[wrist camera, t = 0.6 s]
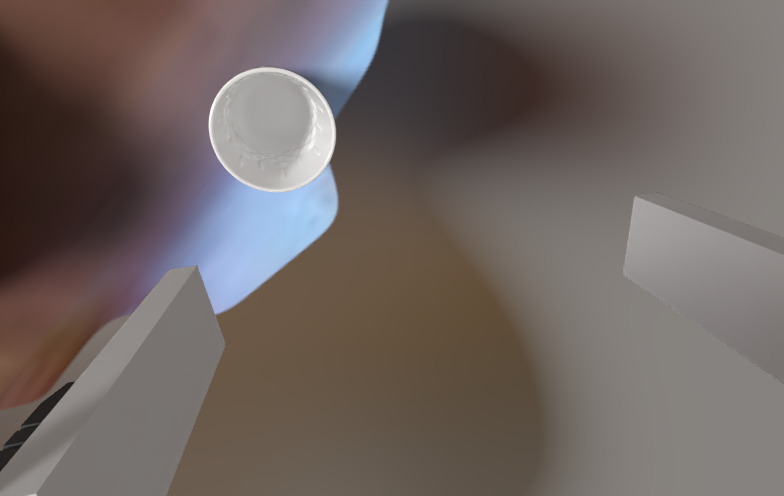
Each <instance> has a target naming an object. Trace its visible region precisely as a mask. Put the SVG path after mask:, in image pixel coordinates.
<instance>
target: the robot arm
mask: <svg viewBox="0 0 784 496" xmlns="http://www.w3.org/2000/svg"><path fill="white" fill-rule="evenodd" d="M634 197H635V198H634V203H633V210H632V217H631V223H630V230H629V237H628V243H627V250H626V257H625V264H624V271H623V275H624V276H626V277H627V278H629V279H630V280H632V281H633V282H635V283H636V284H638V285H639V286H641V287H642V288H643V289H645V290H646V291H648V292H649V293H651V294H652V295H654V296H655V297H657V298H658V299H660V300H661V301H662V302H664V303H666V304H667V305H668V306H670V307H671V308H673V309H674V310H676V311H677V312H679V313H680V314H682V315H683V316H685V317H686V318H687V319H689V320H691V321H692V322H694V323H695V324H696V325H698V326H699V327H701V328H702V329H704V330H705V331H707V332H708V333H709V334H711V335H712V336H714V337H715V338H717V339H718V340H720V341H721V342H723V343H724V344H726V345H727V346H729V347H730V348H732V349H733V350H735V351H736V352H737V353H739V354H740V355H742V356H743V357H745V358H746V359H748V360H749V361H751V362H752V363H754V364H755V365H757V366H758V367H759V368H761V369H762V370H764V371H765V372H767V373H768V374H770V375H771V376H773V377H774V378H775V379H777V380H778V381H780V382H781V383H783V384H784V237H781V236H779V235H776V234H773V233H770V232H768V231H765V230H762V229H759V228H756V227H753V226H751V225H748V224H745V223H742V222H739V221H737V220H734V219H731V218H728V217H725V216H723V215H720V214H717V213H714V212H712V211H708V210H706V209H703V208H700V207H698V206H695V205H692V204H689V203H686V202H683V201H681V200H678V199H675V198H672V197H669V196H666V195H664V194H661V193H658V192H656V193H650V194H644V195H637V196H634ZM224 347H225V342H224V339H223V336H222V334H221V331H220V328H219V325H218V322H217V319H216V317H215V314H214V311H213V308H212V305H211V303H210V300H209V297H208V294H207V291H206V289H205V286H204V283H203V280H202V277H201V275H200V272H199V269H198V266H197V265H196V266H190V267H184V268H177V269H171V270H168V272H167V273H166V274H165V275H164V276H163V278H162V279H161V280H160V281H159V282H158V284H157V285H156V286H155V287H154V288H153V290H152V291H151V292H150V293H149V294H148V296H147V297H146V298H145V299H144V300H143V302H142V303H141V304H140V305H139V306H138V308H137V309H136V310H135V311H134V312H133V314H132V315H131V316H130V317H129V318H128V320H127V321H126V322H125V323H124V324H123V326H122V327H121V328H120V329H119V330H118V332H117V333H116V334H115V335H114V337H113V338H112V339H111V340H110V341H109V342H108V344H107V345H106V346H105V347H104V348H103V349H102V351H101V352H100V353H99V354H98V356H97V357H96V358H95V359H94V360H93V361H92V363H91V364H90V365H89V366H88V368H87V369H86V370H85V371H84V373H82V375H81V376H80V377H79V378H78V380H77V381H75V382H69V383H67V384H66V385H65V386H63V387H62V388H61V389H59V390H58V391H57V392H55V393H54V394H53V395H51V396H50V397H49V398H47V399H46V400H45V401H44V402H42V403H41V404H40V405H39V406H38V407H37V409H36V410H35V411H34V412H33V413H32V414H31V415H30V417H28V419H27V420H26V421H25V422H24V423H23V424H22V425H21V430H20V431H16V432H15V433H14V434H13V436H12V437H11V438H10V439H9V440H8V441H7V442H6V443H5V445H4V446H3V447H4V448H3V451H0V496H166V494H167V492H168V489H169V487H170V484H171V481H172V479H173V476H174V474H175V471H176V469H177V466H178V464H179V461H180V459H181V456H182V453H183V451H184V448H185V446H186V443H187V441H188V438H189V436H190V433H191V431H192V428H193V425H194V423H195V420H196V418H197V415H198V413H199V410H200V408H201V405H202V402H203V400H204V398H205V395H206V392H207V390H208V387H209V385H210V382H211V380H212V377H213V374H214V372H215V369H216V367H217V364H218V362H219V359H220V357H221V354H222V352H223V349H224Z"/></svg>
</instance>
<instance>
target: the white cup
mask: <svg viewBox="0 0 784 496" xmlns="http://www.w3.org/2000/svg"><path fill="white" fill-rule="evenodd" d="M209 134H210V139H211V143H212V146H213V149H214V151H215V153H216V155H217V157H218V159H219V160H220V162H221V163H222V165H223V166H224V167H225V168H226V169H227V171H228V172H229V173H231V174H232V175H233V176H234V177H235V178H237V179H238V180H239V181H241V182H242V183H244V184H246V185H248V186H250V187H253V188H255V189H258V190H262V191H268V192H287V191H292V190H296V189H299V188H301V187H303V186H305V185H307V184H309V183H311V182H312V181H313V180H315V179H316V178H317V177H318V176H319V175H320V174H321V173H322V172H323V171H324V169H325V168H326V167H327V165H328V163H329V162H330V160H331V157H332V155H333V152H334V148H335V143H336V125H335V120H334V116H333V113H332V111H331V108H330V106H329V104H328V102H327V101H326V99H325V98H324V96H323V95H322V94H321V92H320V91H319V90H318V89H317V88H316V87H315V86H314V85H313V84H312V83H310V82H309V81H308V80H306V79H305V78H303V77H302V76H300V75H298V74H296V73H293V72H291V71H288V70H285V69H282V68H278V67H271V66H261V67H255V68H251V69H248V70H246V71H244V72H242V73H240V74H238V75H237V76H235V77H234V78H232V79H231V80H230V81H228V82H227V83H226V84H225V85H224V86H223V88H222V89H221V90H220V91H219V93H218V94H217V96H216V98H215V100H214V102H213V105H212V107H211V111H210V116H209Z"/></svg>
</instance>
